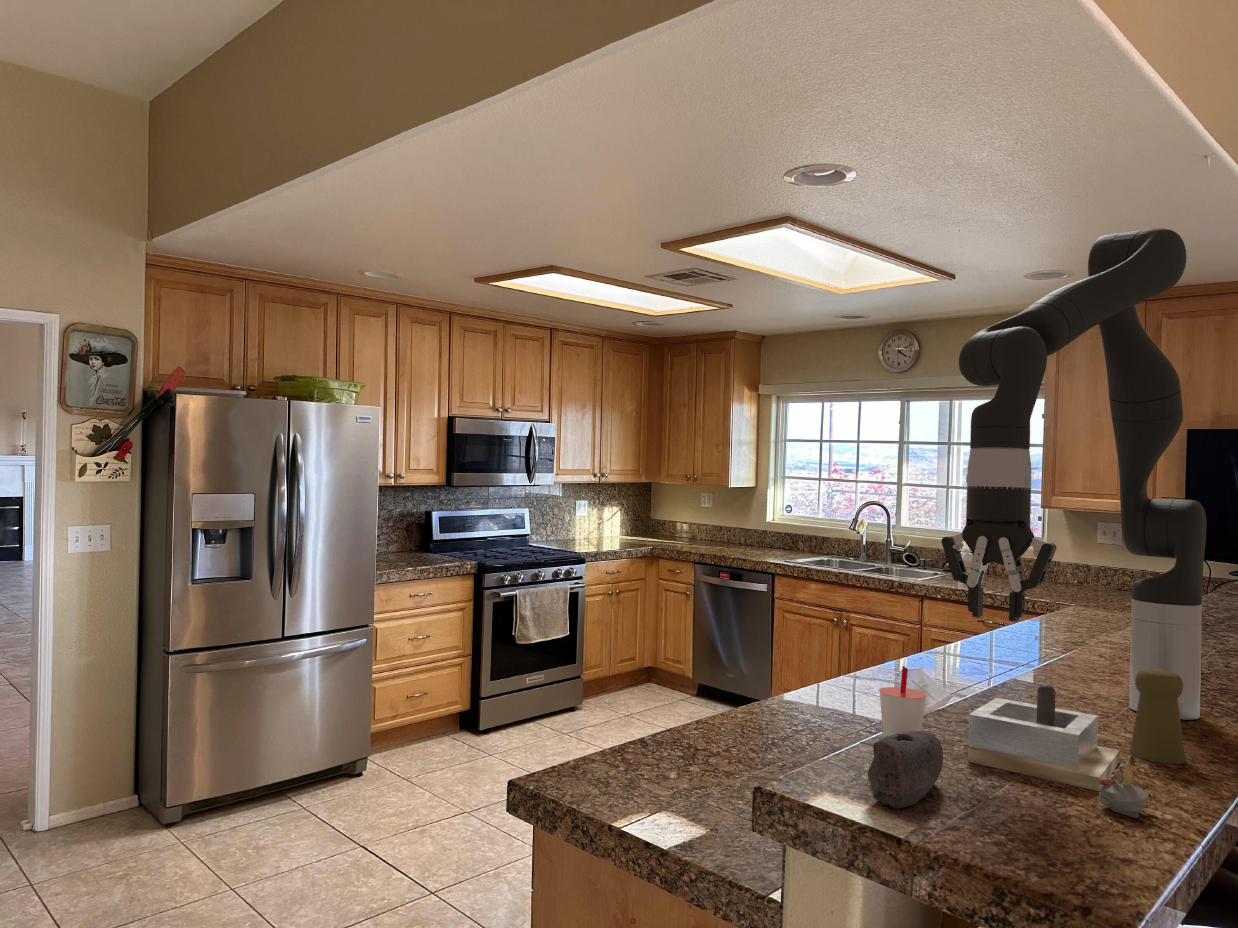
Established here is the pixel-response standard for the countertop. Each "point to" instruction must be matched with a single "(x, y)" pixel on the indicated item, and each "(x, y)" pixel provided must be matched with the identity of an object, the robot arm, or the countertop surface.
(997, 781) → the countertop surface
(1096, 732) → the grey hollow block
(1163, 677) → the cork
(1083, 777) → the block
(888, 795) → the perforated stone tool
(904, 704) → the cup
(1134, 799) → the figurine
